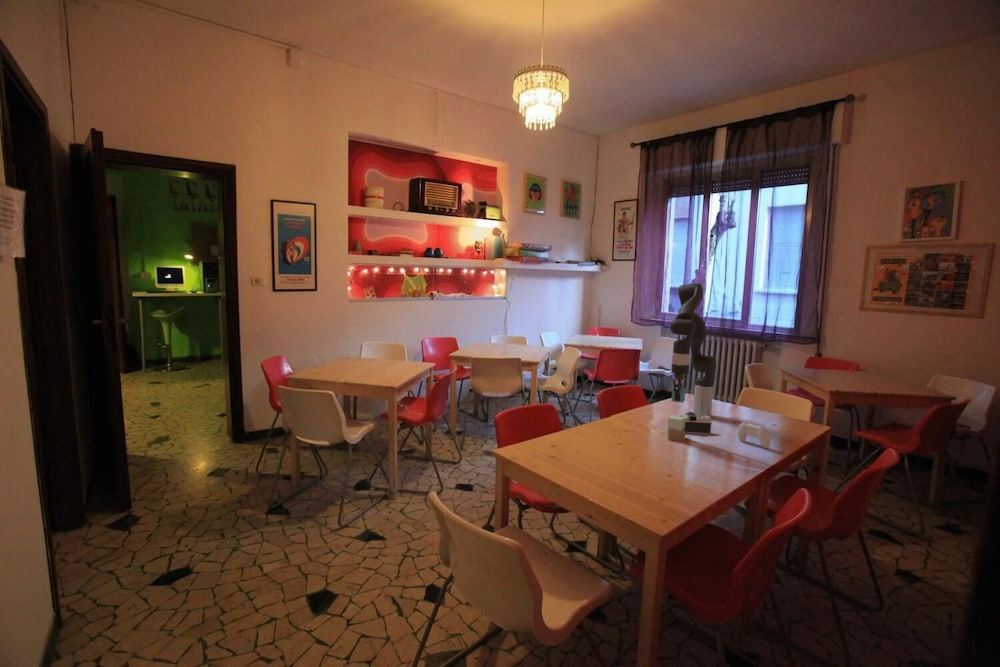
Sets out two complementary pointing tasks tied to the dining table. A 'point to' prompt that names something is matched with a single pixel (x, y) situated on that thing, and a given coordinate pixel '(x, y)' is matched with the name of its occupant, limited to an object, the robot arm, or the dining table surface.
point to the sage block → (676, 423)
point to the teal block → (682, 395)
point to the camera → (697, 423)
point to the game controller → (754, 433)
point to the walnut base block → (676, 435)
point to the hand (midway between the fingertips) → (678, 399)
